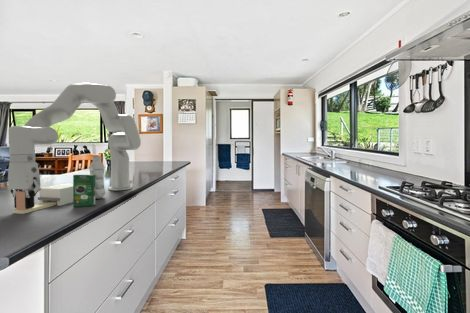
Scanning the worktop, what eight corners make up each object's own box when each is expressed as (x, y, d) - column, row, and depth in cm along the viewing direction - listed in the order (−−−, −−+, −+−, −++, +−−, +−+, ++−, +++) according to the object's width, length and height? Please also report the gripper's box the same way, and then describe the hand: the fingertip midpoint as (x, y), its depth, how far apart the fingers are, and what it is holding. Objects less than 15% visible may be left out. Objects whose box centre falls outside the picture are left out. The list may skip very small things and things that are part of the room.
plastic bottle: (86, 199, 126) (85, 156, 125) (97, 196, 132) (96, 155, 131) (97, 200, 124) (96, 156, 123) (108, 197, 130) (107, 155, 129)
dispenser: (66, 198, 129) (65, 183, 129) (84, 198, 127) (84, 184, 127) (38, 205, 115) (37, 188, 114) (58, 206, 113) (58, 189, 112)
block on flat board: (55, 202, 120) (55, 184, 120) (64, 202, 119) (64, 184, 119) (13, 213, 101) (12, 191, 101) (23, 213, 101) (22, 192, 100)
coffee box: (96, 204, 116) (95, 174, 115) (94, 206, 113) (93, 174, 112) (75, 205, 114) (74, 174, 114) (73, 207, 111) (72, 175, 111)
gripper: (50, 158, 104) (52, 206, 106) (13, 158, 108) (15, 204, 109) (32, 160, 97) (34, 211, 98) (-7, 159, 100) (-4, 208, 101)
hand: (24, 206), depth 103 cm, fingers closed on block on flat board, 4 cm apart
